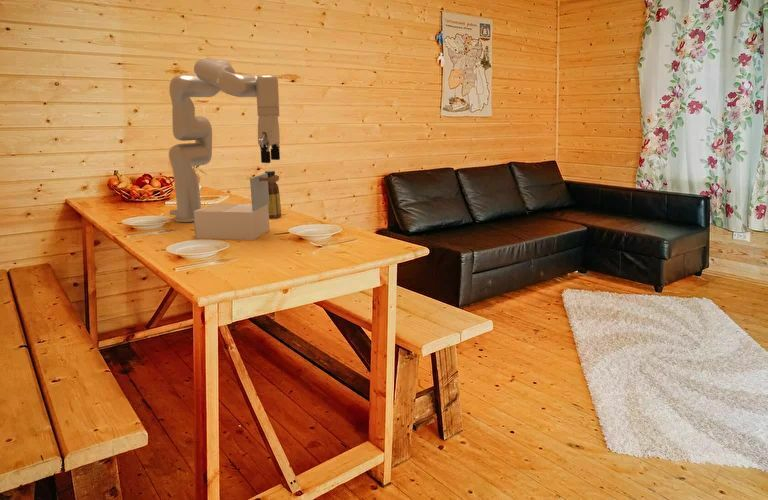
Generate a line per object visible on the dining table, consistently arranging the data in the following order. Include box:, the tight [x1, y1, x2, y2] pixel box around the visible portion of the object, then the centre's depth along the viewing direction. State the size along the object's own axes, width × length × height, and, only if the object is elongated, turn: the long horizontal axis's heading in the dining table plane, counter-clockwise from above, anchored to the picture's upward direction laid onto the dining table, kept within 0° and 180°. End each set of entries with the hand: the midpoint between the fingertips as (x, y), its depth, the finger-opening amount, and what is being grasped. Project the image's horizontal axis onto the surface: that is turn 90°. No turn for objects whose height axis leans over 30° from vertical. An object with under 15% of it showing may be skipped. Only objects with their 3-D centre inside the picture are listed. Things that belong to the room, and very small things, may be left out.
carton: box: [193, 202, 271, 241], centre depth 212 cm, size 23×16×10 cm
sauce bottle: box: [264, 169, 282, 219], centre depth 241 cm, size 7×6×20 cm
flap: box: [249, 172, 280, 211], centre depth 207 cm, size 12×15×7 cm
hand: (270, 161), depth 204 cm, fingers open, 9 cm apart
